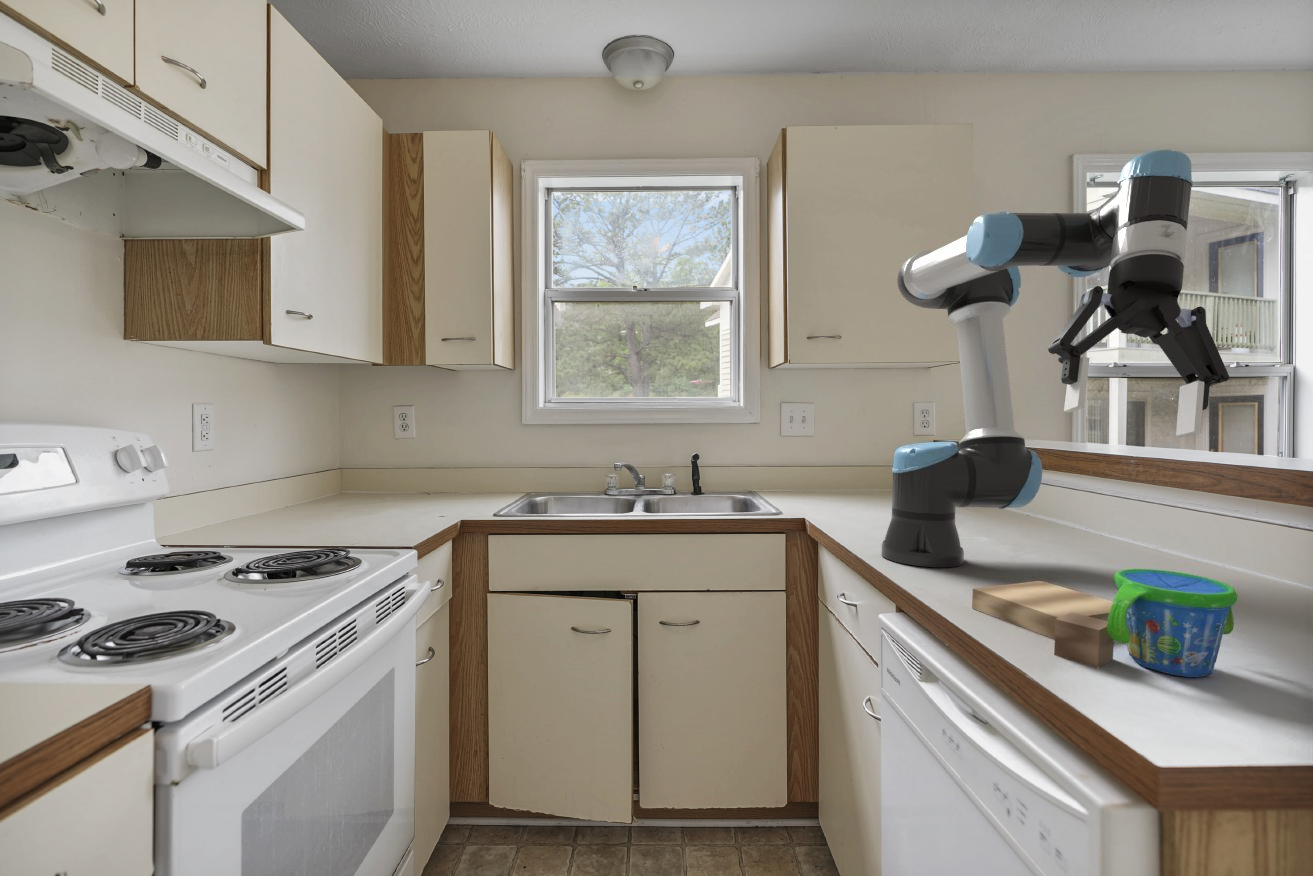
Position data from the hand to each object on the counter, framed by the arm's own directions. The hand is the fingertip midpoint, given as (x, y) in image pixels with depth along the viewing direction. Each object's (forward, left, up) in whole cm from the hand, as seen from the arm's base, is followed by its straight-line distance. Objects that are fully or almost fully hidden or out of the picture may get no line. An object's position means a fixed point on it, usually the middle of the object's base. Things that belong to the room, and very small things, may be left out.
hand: (1130, 422), depth 74 cm
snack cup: (+5, 0, -29) cm, 29 cm away
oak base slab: (-11, +2, -28) cm, 30 cm away
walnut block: (0, -7, -28) cm, 29 cm away
